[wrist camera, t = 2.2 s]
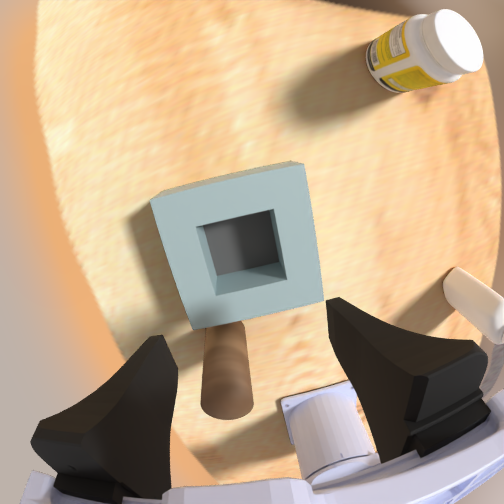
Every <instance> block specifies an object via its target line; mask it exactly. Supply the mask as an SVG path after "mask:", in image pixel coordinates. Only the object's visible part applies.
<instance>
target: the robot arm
mask: <svg viewBox="0 0 504 504" xmlns="http://www.w3.org/2000/svg"><path fill="white" fill-rule="evenodd" d="M326 309H327V320H328V332H329V339H330V342H331V344H332V347H333V350H334V352H335V355H336V357H337V359H338V361H339V362H340V364H341V366H342V368H343V370H344V372H345V373H346V375H347V377H348V379H349V380H348V381H345V382H342V383H339V384H335V385H332V386H328V387H325V388H321V389H318V390H314V391H310V392H306V393H302V394H298V395H294V396H290V397H286V398H283V399H281V406H282V410H283V414H284V418H285V422H286V426H287V430H288V434H289V438H290V442H291V444H292V445H295V449H296V454H297V458H298V462H299V467H300V471H301V476H302V479H297V478H289V477H285V478H274V479H265V480H258V481H251V482H243V483H234V484H223V485H209V486H185V487H177V488H171V475H170V431H171V423H172V417H173V411H174V405H175V400H176V394H177V387H178V367H177V365H176V363H175V361H174V359H173V357H172V355H171V352H170V350H169V348H168V346H167V344H166V341H165V339H164V337H163V335H157V336H151V337H149V338H148V339H147V340H146V341H145V342H144V343H143V344H142V345H141V346H140V348H139V349H138V350H137V351H136V352H135V353H134V354H133V355H132V356H131V357H130V359H129V360H128V361H127V362H126V363H125V364H124V365H123V366H122V367H121V368H120V369H119V370H118V371H117V372H116V373H115V374H114V375H113V376H112V377H111V378H110V379H109V380H108V381H107V382H106V383H104V384H103V385H102V386H101V387H99V388H98V389H97V390H96V391H95V392H93V393H92V394H90V395H89V396H87V397H86V398H84V399H83V400H81V401H80V402H78V403H77V404H75V405H73V406H72V407H70V408H68V409H66V410H64V411H62V412H60V413H58V414H55V415H53V416H51V417H48V418H46V419H43V420H41V421H40V422H39V424H38V426H37V428H36V431H35V433H34V435H33V437H32V439H31V445H32V448H33V449H34V451H35V452H36V453H37V454H38V455H39V456H40V457H41V458H42V459H43V460H44V461H45V462H46V463H47V464H48V465H49V466H51V467H52V468H53V469H54V470H55V471H56V472H57V473H58V474H57V477H56V478H55V477H53V476H51V475H48V474H45V473H41V472H38V471H34V470H33V471H31V474H30V477H29V479H28V482H27V485H26V487H25V490H24V493H23V496H22V499H21V502H20V504H454V503H455V502H457V501H458V500H460V499H461V498H463V497H464V496H466V495H467V494H469V493H470V492H471V491H473V490H474V489H476V488H477V487H479V486H480V485H481V484H483V483H484V482H486V481H487V480H488V479H490V478H491V477H492V476H493V475H495V474H496V473H497V472H499V471H500V470H501V469H502V468H504V388H503V389H502V390H500V391H499V392H497V393H496V394H495V395H493V396H492V397H491V398H490V399H489V400H488V401H487V402H486V403H484V401H483V400H482V399H481V398H482V397H483V392H482V391H481V390H480V388H479V386H480V384H481V381H482V379H483V376H484V374H485V371H486V368H487V364H488V356H487V354H486V353H485V352H484V351H483V350H482V349H481V348H480V347H479V346H478V345H477V344H476V343H475V342H474V341H473V340H458V339H445V338H437V337H431V336H426V335H422V334H418V333H414V332H410V331H407V330H404V329H401V328H398V327H395V326H393V325H390V324H388V323H386V322H384V321H381V320H379V319H377V318H375V317H373V316H371V315H369V314H368V313H366V312H364V311H362V310H360V309H359V308H357V307H355V306H354V305H352V304H350V303H349V302H347V301H345V300H343V299H342V298H340V297H337V298H333V299H330V300H326ZM357 396H358V398H359V400H360V403H361V405H362V408H363V410H364V413H365V416H366V418H367V421H368V424H369V427H370V430H371V433H372V436H373V439H374V442H375V445H376V448H377V451H378V453H375V450H374V448H373V446H372V443H371V441H370V439H369V437H368V434H367V432H366V430H365V427H364V425H363V423H362V421H361V418H360V416H359V414H358V412H357V409H356V398H357ZM286 404H287V405H286Z"/></svg>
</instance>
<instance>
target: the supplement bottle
mask: <svg viewBox="0 0 504 504" xmlns="http://www.w3.org/2000/svg"><path fill="white" fill-rule="evenodd" d="M366 63H367V66H368V69H369V71H370V73H371V74H372V76H373V77H374V79H375V80H376V81H377V82H378V83H379V84H380V85H381V86H383V87H384V88H386V89H387V90H389V91H392V92H396V93H403V92H409V91H413V90H417V89H422V88H427V87H432V86H437V85H442V84H447V83H452V82H454V81H456V80H458V79H459V78H460V77H461V76H462V75H463V74H467V73H472V72H475V71H477V70H479V69H480V67H481V66H482V63H483V51H482V46H481V43H480V41H479V38H478V36H477V34H476V32H475V31H474V29H473V28H472V26H471V25H470V24H469V23H468V22H467V21H466V20H465V19H464V18H463V17H462V16H460V15H459V14H457V13H456V12H454V11H452V10H447V9H442V10H438V11H436V12H434V13H431V14H429V15H426V14H419V15H415V16H413V17H411V18H409V19H407V20H406V21H404V22H402V23H401V24H399V25H397V26H395V27H394V28H392V29H391V30H389V31H387V32H386V33H384V34H383V35H381V36H379V37H378V38H376V39H375V40H373V41H372V42H371V43H370V44H369V46H368V48H367V51H366Z"/></svg>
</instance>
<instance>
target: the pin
mask: <svg viewBox="0 0 504 504" xmlns="http://www.w3.org/2000/svg"><path fill="white" fill-rule="evenodd" d="M253 405H254V402H253V394H252V386H251V377H250V369H249V360H248V352H247V343H246V334H245V327H244V325H243V323H242V322H241V321H237V322H232V323H227V324H222V325H217V326H212V327H207V328H206V335H205V347H204V360H203V374H202V389H201V407H202V409H203V411H204V412H205V413H206V414H208V415H209V416H211V417H214V418H217V419H222V420H232V419H238V418H241V417H243V416H245V415H247V414H248V413H249V412H250V411H251V410H252V408H253Z"/></svg>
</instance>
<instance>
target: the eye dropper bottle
mask: <svg viewBox="0 0 504 504" xmlns="http://www.w3.org/2000/svg"><path fill="white" fill-rule="evenodd" d="M443 290H444V294H445V297H446V299H447V301H448V303H449V304H450V305H451V306H452V307H453V308H455V309H456V310H457V311H458V312H459V313H460V314H461V315H463V316H464V317H465V318H466V319H467V320H468V321H469V322H470V323H472V324H473V325H474V326H475V327H476V328H477V329H478V330H479V331H480V332H481V333H483V334H484V335H485V336H486V337H487V338H488V339H489V340H490V341H492V342H493V343H495V344H502V343H503V344H504V298H503V297H502V296H500V295H499V294H498V293H496V292H495V291H494V290H492V289H491V288H489V287H488V286H486V285H485V284H484V283H482V282H481V281H479V280H478V279H476V278H475V277H473V276H472V275H470V274H469V273H467V272H466V271H464V270H463V269H461V268H459V267H455V268H453V269H452V271H451V272H450V273H449V274H448V275H447V277H446V278H445V279H444V281H443Z"/></svg>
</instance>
